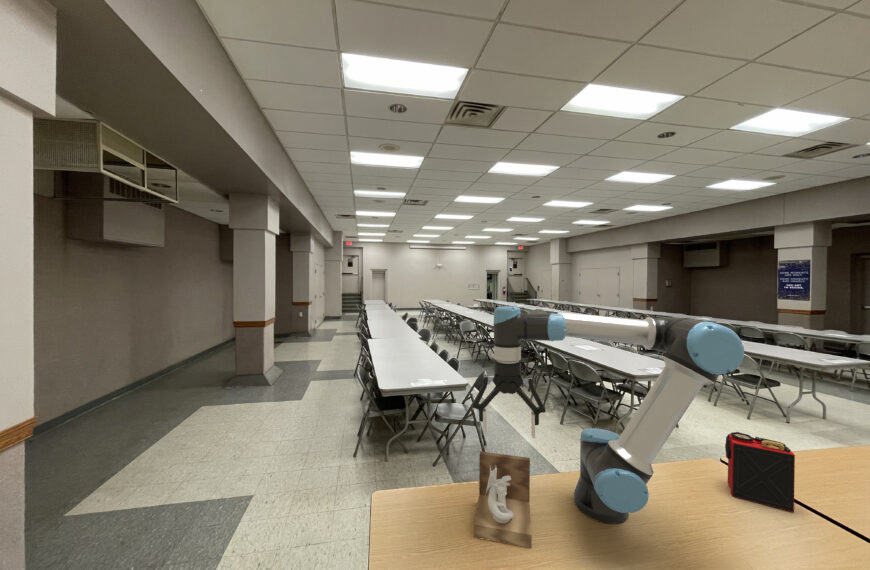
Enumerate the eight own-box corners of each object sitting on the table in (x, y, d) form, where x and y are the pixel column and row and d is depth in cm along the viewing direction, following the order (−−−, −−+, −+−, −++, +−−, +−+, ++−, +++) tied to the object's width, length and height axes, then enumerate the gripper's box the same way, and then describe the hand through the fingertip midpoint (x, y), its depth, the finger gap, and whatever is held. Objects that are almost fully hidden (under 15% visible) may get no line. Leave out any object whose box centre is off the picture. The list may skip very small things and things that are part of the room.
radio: (784, 496, 108) (785, 435, 108) (796, 514, 99) (798, 448, 99) (721, 480, 116) (722, 423, 116) (727, 496, 108) (728, 435, 108)
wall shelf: (529, 510, 100) (529, 457, 100) (531, 548, 86) (532, 487, 86) (479, 502, 104) (480, 451, 104) (474, 537, 90) (474, 478, 89)
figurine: (517, 525, 89) (518, 481, 89) (490, 527, 88) (490, 483, 88) (504, 499, 100) (504, 459, 100) (479, 501, 99) (479, 461, 99)
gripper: (551, 358, 96) (552, 431, 96) (465, 356, 101) (466, 425, 101) (555, 365, 89) (556, 443, 89) (462, 362, 94) (463, 436, 94)
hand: (508, 434), depth 95 cm, fingers open, 13 cm apart
